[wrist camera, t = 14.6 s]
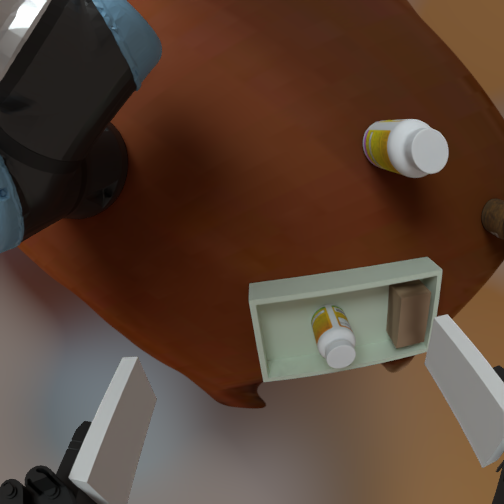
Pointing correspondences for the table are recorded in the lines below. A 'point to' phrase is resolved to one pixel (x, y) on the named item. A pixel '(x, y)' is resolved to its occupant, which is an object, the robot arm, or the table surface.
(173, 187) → the table surface
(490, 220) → the utensil holder
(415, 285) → the walnut block
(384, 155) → the supplement bottle
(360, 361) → the tote
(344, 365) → the supplement bottle
